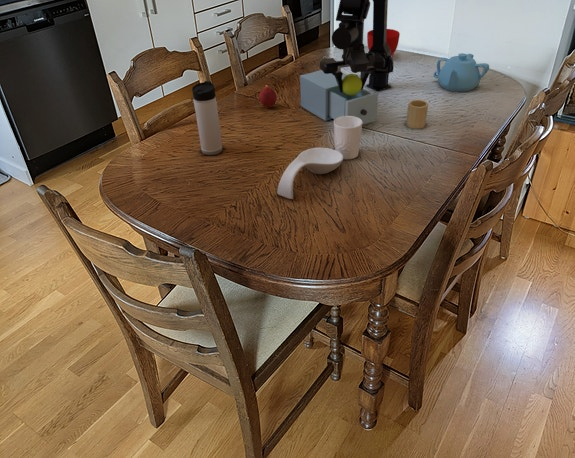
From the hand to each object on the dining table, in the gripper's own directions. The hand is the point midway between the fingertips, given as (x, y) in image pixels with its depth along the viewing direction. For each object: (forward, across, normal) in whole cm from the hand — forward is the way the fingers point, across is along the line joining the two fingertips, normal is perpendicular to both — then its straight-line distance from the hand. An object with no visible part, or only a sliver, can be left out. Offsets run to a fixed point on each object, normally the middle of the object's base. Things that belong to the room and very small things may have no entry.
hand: (351, 90), depth 154 cm
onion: (+10, -23, +18) cm, 32 cm away
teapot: (+10, +47, +18) cm, 51 cm away
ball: (-2, 0, 0) cm, 2 cm away
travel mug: (+10, -45, -7) cm, 47 cm away
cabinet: (+10, -4, +11) cm, 16 cm away
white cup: (+10, -8, -21) cm, 24 cm away
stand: (+10, +19, -8) cm, 23 cm away
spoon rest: (+10, -21, -31) cm, 38 cm away
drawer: (+9, 0, 0) cm, 9 cm away
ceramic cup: (+5, +30, +52) cm, 61 cm away
